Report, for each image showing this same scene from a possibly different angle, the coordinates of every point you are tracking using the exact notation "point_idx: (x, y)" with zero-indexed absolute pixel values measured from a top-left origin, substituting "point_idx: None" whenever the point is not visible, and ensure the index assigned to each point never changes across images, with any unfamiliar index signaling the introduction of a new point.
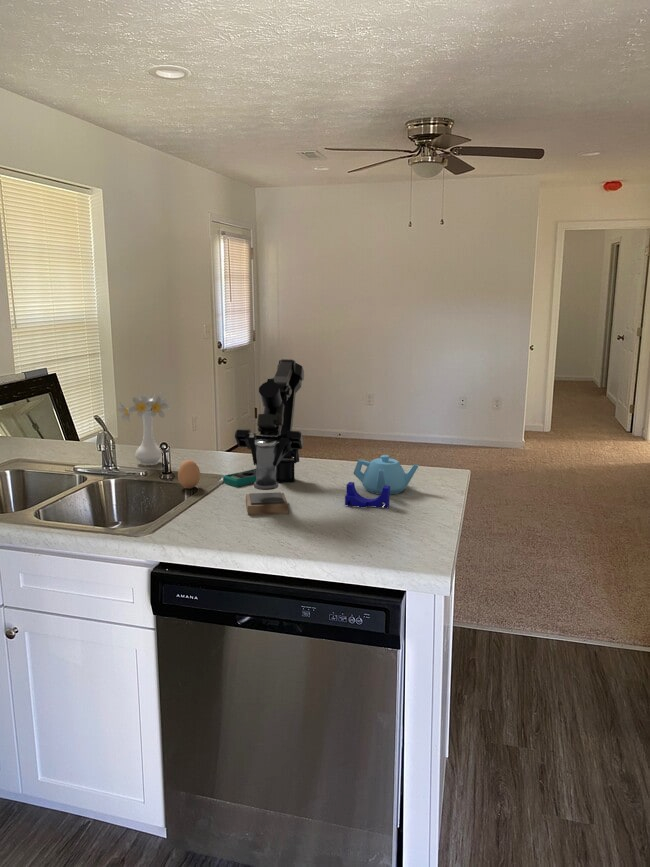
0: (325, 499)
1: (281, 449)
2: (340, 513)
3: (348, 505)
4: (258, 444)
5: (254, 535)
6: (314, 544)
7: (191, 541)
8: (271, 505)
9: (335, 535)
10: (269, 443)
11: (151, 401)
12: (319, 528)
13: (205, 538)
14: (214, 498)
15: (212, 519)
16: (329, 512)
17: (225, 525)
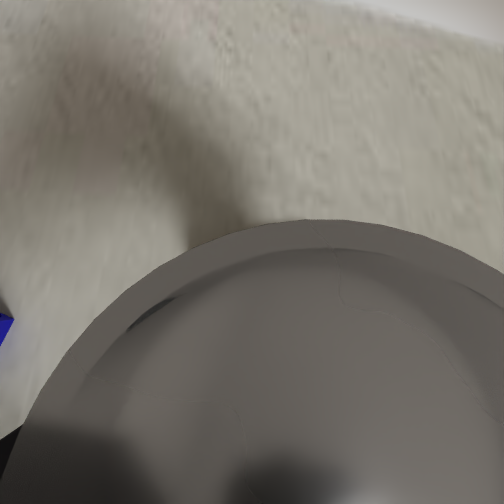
0: None
1: None
2: (46, 245)
3: (2, 314)
4: (498, 297)
5: (294, 93)
6: (156, 35)
7: (444, 63)
8: None
9: (98, 84)
10: (232, 255)
11: None
12: (128, 131)
13: (413, 79)
14: None
15: (419, 214)
16: (76, 256)
17: (375, 164)
